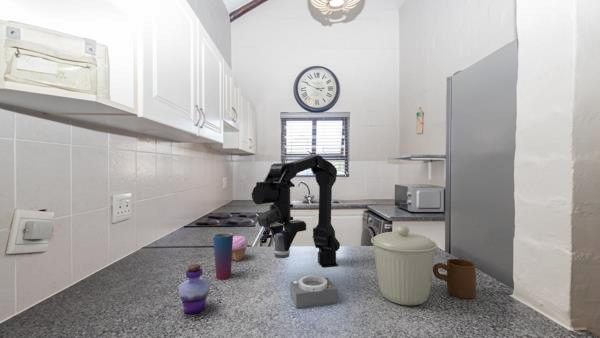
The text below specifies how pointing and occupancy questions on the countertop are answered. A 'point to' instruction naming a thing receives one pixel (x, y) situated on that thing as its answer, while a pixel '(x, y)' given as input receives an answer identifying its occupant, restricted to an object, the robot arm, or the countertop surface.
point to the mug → (458, 277)
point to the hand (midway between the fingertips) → (282, 248)
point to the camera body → (312, 291)
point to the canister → (404, 265)
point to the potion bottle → (194, 290)
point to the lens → (280, 246)
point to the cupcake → (238, 247)
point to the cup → (223, 254)
